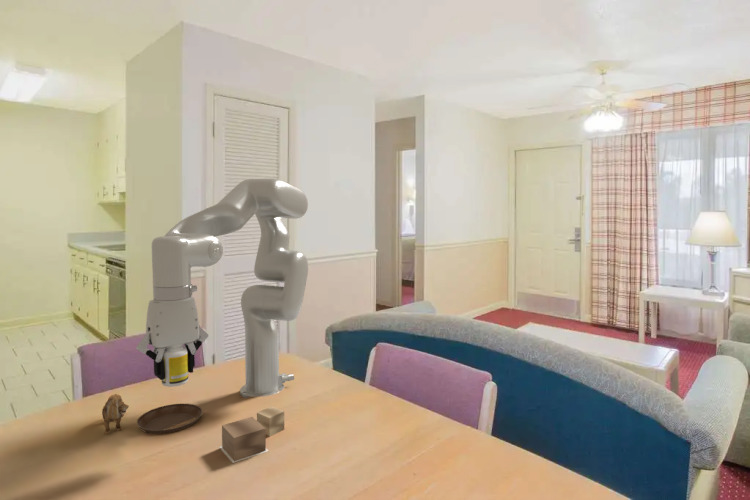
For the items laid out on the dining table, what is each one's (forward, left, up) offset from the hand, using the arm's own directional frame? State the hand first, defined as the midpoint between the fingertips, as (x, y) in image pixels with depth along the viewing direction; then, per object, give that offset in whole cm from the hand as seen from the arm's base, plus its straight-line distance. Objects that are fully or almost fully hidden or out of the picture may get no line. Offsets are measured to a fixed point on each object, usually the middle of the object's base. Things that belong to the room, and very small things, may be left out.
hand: (174, 373), depth 101 cm
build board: (-13, +11, -17) cm, 24 cm away
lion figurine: (+9, -20, -17) cm, 28 cm away
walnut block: (-11, +11, -16) cm, 22 cm away
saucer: (-2, -13, -18) cm, 22 cm away
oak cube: (-19, +7, -16) cm, 26 cm away
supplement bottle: (0, 0, -2) cm, 2 cm away
